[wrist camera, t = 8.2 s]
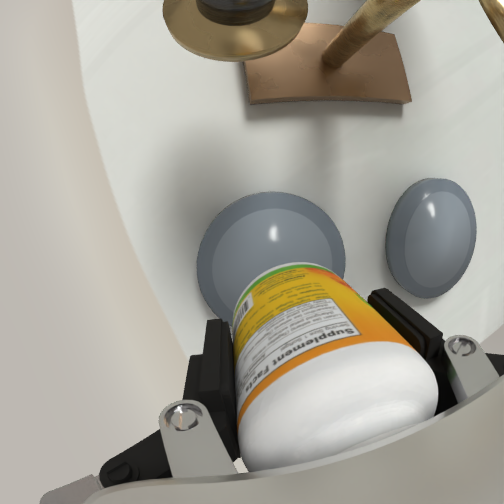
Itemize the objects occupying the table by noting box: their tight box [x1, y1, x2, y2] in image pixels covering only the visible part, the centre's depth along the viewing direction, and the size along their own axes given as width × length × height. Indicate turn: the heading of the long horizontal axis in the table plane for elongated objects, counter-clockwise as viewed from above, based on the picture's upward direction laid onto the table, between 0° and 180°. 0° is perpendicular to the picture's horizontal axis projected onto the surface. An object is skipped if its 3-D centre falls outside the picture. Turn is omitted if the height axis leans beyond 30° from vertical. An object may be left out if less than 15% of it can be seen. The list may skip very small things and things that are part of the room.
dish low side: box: [197, 192, 345, 326], centre depth 19 cm, size 10×10×1 cm
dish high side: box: [386, 178, 476, 298], centre depth 19 cm, size 10×10×1 cm
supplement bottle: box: [232, 262, 438, 472], centre depth 8 cm, size 5×5×10 cm
